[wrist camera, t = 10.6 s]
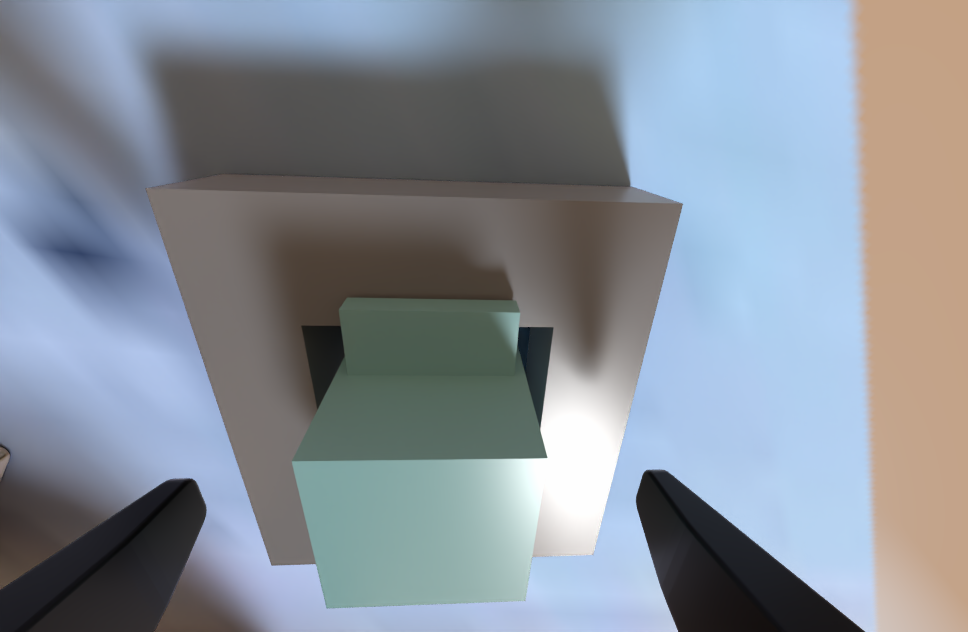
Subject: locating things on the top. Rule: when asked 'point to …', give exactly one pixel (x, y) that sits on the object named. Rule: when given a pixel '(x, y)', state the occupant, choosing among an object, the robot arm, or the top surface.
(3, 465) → the coffee box
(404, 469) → the block
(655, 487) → the robot arm
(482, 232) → the pocket plate
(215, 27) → the top surface
